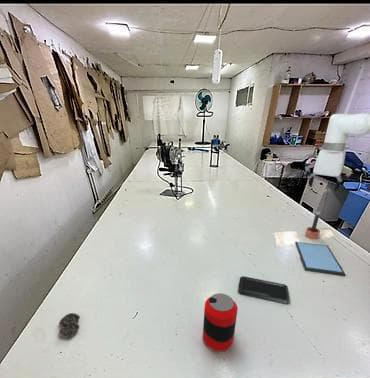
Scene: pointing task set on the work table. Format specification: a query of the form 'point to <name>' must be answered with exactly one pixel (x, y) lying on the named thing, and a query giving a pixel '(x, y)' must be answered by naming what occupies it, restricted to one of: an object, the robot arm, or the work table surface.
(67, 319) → the corroded twin loop
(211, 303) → the soda can
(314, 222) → the stylus
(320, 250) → the tablet
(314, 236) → the pen cup
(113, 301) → the work table surface
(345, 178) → the robot arm
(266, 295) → the phone
